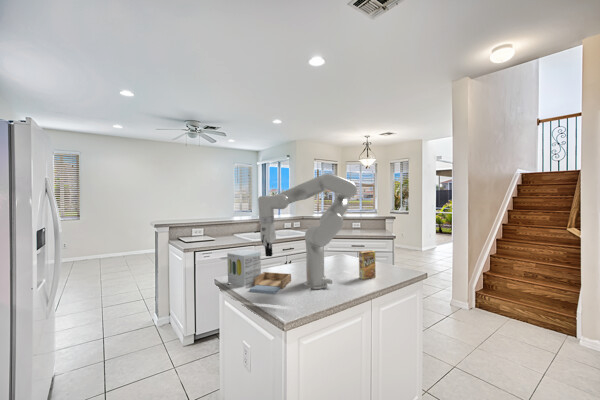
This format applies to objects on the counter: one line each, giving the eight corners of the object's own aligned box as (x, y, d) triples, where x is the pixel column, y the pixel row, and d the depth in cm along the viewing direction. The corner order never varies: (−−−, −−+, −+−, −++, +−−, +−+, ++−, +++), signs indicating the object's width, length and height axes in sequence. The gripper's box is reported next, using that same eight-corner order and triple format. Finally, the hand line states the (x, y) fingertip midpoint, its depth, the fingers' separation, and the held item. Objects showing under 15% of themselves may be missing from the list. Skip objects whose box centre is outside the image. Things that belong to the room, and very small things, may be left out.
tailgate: (280, 287, 141) (275, 291, 133) (280, 290, 141) (274, 294, 133) (256, 285, 145) (249, 289, 137) (256, 288, 145) (249, 292, 137)
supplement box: (227, 284, 152) (226, 252, 151) (244, 278, 162) (244, 248, 162) (244, 289, 144) (243, 255, 144) (261, 282, 155) (261, 251, 154)
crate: (291, 282, 153) (291, 273, 153) (282, 291, 140) (282, 281, 140) (264, 280, 158) (264, 272, 158) (253, 288, 145) (253, 279, 144)
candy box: (363, 279, 158) (362, 252, 157) (358, 277, 161) (358, 251, 161) (375, 277, 161) (375, 251, 161) (371, 275, 165) (371, 250, 165)
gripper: (268, 221, 133) (271, 259, 133) (278, 218, 147) (280, 252, 148) (254, 222, 135) (256, 259, 135) (265, 218, 149) (267, 252, 150)
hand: (269, 255), depth 142 cm, fingers closed
